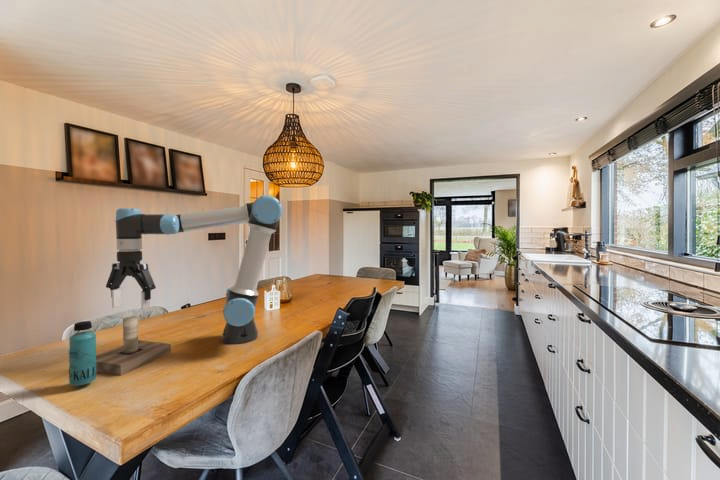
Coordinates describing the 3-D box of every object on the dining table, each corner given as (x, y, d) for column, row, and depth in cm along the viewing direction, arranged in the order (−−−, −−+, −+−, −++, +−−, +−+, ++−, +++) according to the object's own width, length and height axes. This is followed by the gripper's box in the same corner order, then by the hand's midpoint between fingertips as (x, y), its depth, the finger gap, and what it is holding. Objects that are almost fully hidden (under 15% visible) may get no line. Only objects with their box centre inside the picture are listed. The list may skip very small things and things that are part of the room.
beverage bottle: (80, 380, 99) (79, 319, 98) (102, 380, 99) (101, 318, 99) (62, 391, 92) (61, 325, 92) (86, 390, 93) (85, 325, 92)
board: (170, 352, 122) (170, 344, 122) (120, 375, 103) (120, 365, 102) (138, 348, 126) (138, 340, 126) (84, 369, 106) (84, 359, 106)
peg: (141, 358, 116) (141, 316, 116) (129, 364, 111) (129, 320, 111) (131, 357, 117) (131, 315, 117) (119, 362, 113) (119, 319, 112)
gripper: (92, 250, 112) (94, 308, 113) (147, 251, 106) (149, 312, 107) (113, 249, 120) (115, 303, 120) (166, 250, 114) (167, 307, 114)
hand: (131, 307), depth 114 cm, fingers open, 13 cm apart
